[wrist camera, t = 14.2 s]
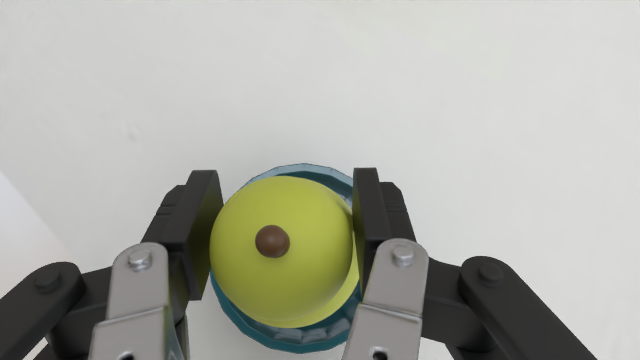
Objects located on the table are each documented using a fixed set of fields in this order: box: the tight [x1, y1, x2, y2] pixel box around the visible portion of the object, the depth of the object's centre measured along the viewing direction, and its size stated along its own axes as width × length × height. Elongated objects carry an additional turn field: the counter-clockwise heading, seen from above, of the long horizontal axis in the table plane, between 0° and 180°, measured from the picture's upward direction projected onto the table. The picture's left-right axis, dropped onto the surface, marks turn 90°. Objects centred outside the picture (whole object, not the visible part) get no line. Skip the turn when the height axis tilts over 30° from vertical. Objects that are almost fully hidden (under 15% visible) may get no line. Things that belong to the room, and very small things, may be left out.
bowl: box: [210, 163, 363, 354], centre depth 25 cm, size 11×11×5 cm
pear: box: [209, 176, 359, 328], centre depth 13 cm, size 5×5×9 cm
